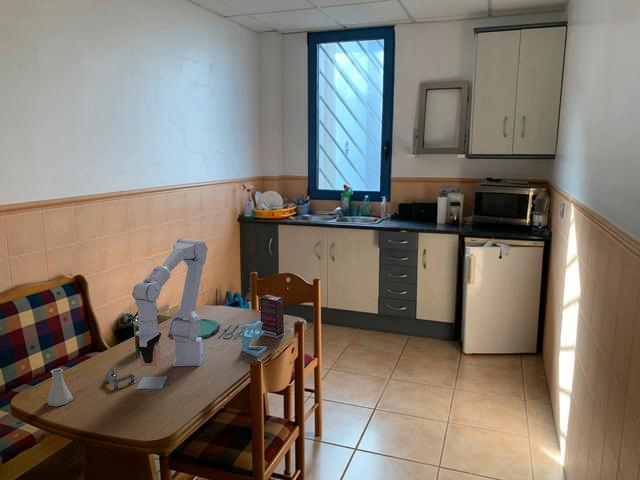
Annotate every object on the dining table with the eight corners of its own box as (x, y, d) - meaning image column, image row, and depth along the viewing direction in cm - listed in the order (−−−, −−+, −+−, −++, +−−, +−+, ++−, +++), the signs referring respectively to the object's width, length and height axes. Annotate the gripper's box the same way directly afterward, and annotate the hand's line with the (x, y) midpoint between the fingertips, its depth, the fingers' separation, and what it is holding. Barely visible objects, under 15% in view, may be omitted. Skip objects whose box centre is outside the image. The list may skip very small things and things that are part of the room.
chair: (248, 345, 197) (247, 316, 195) (267, 349, 194) (266, 319, 192) (237, 353, 190) (236, 322, 188) (256, 356, 187) (255, 325, 185)
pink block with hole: (160, 359, 168) (159, 342, 167) (156, 366, 163) (155, 348, 162) (145, 360, 168) (143, 342, 167) (140, 366, 163) (139, 349, 162)
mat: (167, 377, 171) (167, 376, 171) (161, 388, 163) (161, 387, 163) (143, 377, 170) (143, 377, 170) (136, 389, 163) (136, 388, 163)
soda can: (145, 354, 189) (143, 324, 186) (133, 353, 190) (130, 323, 187) (152, 349, 194) (150, 319, 191) (140, 348, 195) (138, 318, 192)
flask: (55, 409, 151) (52, 378, 149) (41, 403, 154) (38, 372, 152) (78, 399, 157) (75, 368, 155) (64, 393, 160) (61, 363, 158)
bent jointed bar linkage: (141, 373, 173) (141, 365, 173) (132, 388, 163) (131, 380, 162) (110, 374, 173) (109, 366, 172) (98, 389, 162) (98, 381, 162)
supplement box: (284, 335, 208) (284, 297, 205) (277, 338, 204) (276, 300, 201) (267, 330, 213) (267, 294, 210) (260, 334, 209) (259, 297, 206)
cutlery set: (183, 321, 224) (182, 316, 223) (249, 326, 219) (249, 321, 218) (161, 339, 205) (161, 333, 204) (233, 345, 200) (233, 339, 199)
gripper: (141, 311, 169) (144, 350, 172) (128, 327, 155) (131, 369, 158) (163, 311, 170) (165, 349, 172) (151, 327, 156) (154, 368, 158)
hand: (150, 359), depth 165 cm, fingers closed on pink block with hole, 5 cm apart
